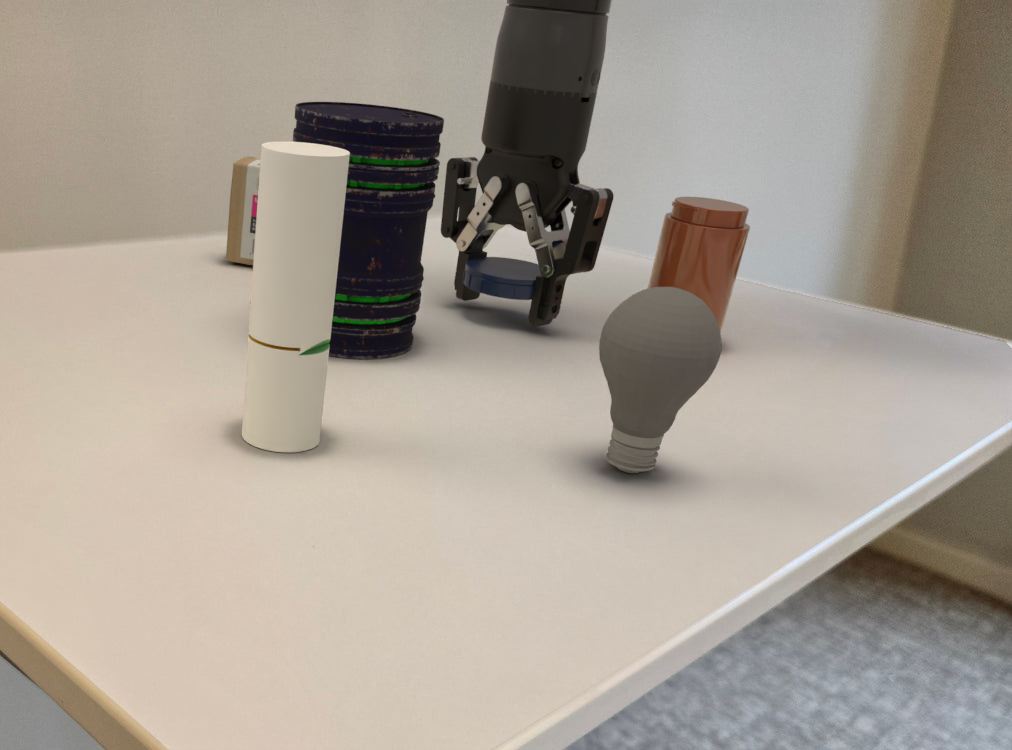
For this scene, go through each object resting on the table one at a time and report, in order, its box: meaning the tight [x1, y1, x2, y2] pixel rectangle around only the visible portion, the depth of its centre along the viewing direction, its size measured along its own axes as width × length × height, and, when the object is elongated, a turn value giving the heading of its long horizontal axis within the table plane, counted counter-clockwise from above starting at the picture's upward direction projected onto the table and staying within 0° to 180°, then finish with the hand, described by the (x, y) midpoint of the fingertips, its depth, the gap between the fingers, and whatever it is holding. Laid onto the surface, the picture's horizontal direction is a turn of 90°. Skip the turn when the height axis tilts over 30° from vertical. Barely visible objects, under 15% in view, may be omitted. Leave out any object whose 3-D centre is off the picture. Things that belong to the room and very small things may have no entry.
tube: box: [241, 141, 350, 453], centre depth 55 cm, size 4×4×15 cm
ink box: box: [225, 156, 261, 266], centre depth 91 cm, size 10×4×8 cm, turn 73°
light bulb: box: [598, 287, 723, 474], centre depth 57 cm, size 6×6×10 cm
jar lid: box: [462, 256, 541, 301], centre depth 83 cm, size 7×7×2 cm
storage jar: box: [292, 101, 445, 360], centre depth 73 cm, size 10×10×15 cm
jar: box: [646, 196, 751, 334], centre depth 81 cm, size 6×6×10 cm
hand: (502, 310), depth 84 cm, fingers closed on jar lid, 6 cm apart
